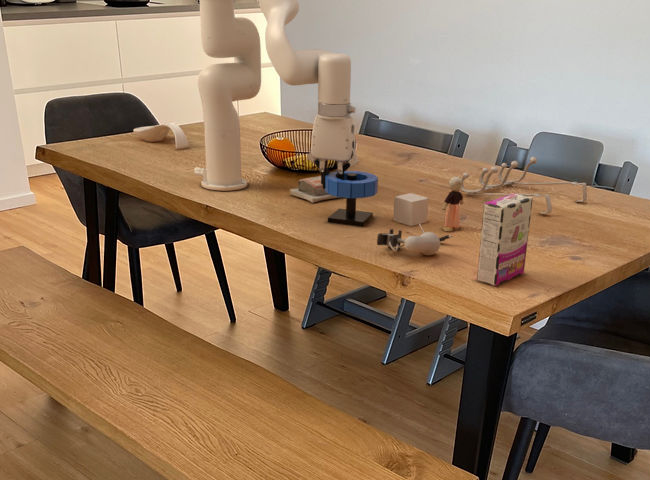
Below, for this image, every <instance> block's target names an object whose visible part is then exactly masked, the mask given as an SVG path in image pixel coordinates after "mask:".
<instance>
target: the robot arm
mask: <svg viewBox="0 0 650 480" xmlns="http://www.w3.org/2000/svg"><path fill="white" fill-rule="evenodd" d="M255 1H256V3H257V5H258V6H259V8H260V10H261V12H262V14H263V17H264V18H265V21H266V28H265V31H264V32H265V33H264V38H265V39H264V41H265V42H264V43H265V49H266V54H267V56H268V59H269V60H270V62H271V64H272V66H273V69H274V70H275V72H276V73H277V75H278V76H279V78H280V79H281V80H282V82H284V83H285V84H287V85H289V86H304V85H315V84H317V114H316V115H315V116H314V119H313V126H312V134H311V145H310V146H311V147H310V149H309V152H308V154H307V157H306V159H307V160H308V161H310V162H311V163H313V164H314V165H315V166H316V167H317V168H318V171H319V172H320V176H321V184H323V189H325V176H326V175H327V174H329V173H331V172H330V169H329V167H328V166H329V161H335V162H336V161H337V171H336V172H337V174H336V177H337V178H338V179H341V180H344V172H345V171H348V169H350V168H352V167H353V166H356V165H358V164H359V163H360V161H359V158H358V156H357V151H356V149H357V144H356V142H357V141H356V129H355V120H354V116H351V114H356V111H357V110H356V109H357V108H356V106H353V105H352V103H351V80H352V77H351V76H352V60H351V58H350V56H349V55H348V54H345V53H339V52H330V51H328V50H325V49H320V48H315V49H313V48H312V49H298V50H297V49H296V50H295V49H294V47H293V46H292V44H291V43H290V40H289V38H288V36H287V33H286V28H285V27H286V26H287V25H288V24H289V23H290V22H292V21H293V20H294V19H295V18H296V17H297V15H298V13H299V11H300V2H299V1H298V0H255ZM199 18H200V36H201V37H200V38H201V45H202V49H203V52H204V53H205V54H206V55H207V56H208V57H210V58H213V59H228V58H229V59H230V58H233V62H222V63H213V64H209V65H207V66H205V67H203V68H202V69H201V71H199V74H198V77H197V87H198V91H199V92H198V93H199V96H200V100H201V107H202V114H203V116H202V117H203V130H204V151H205V152H204V153H205V168H203V167H199V166H195V167H194V169H193V173H194V176H195V177H196V176H197V177H202V180H201V182H200V185H201V187H203V188H204V189H207V190H210V191H211V190H212V191H219V192H221V191H222V192H223V191H224V192H226V191H227V192H228V191H229V192H230V191H237V190H242V189H245V188H247V187H248V180H247V179H245V178H243V177H242V148H241V147H242V146H241V145H242V144H241V121H240V117H239V116H240V115H239V113H238V111H237V109H236V107H235V106H234V103H233V102H238V101H245V100H252V99H253V98H255V97H257V95H258V94H259V92H260V90H261V87H262V53H261V52H262V51H261V50H262V49H261V37H260V32H259V30H258V28H257V26H256V24H255V23H254V22H253V21H252V20H251V19H250V18H247V17H241V16H240V17H235V3H234V0H199Z"/></svg>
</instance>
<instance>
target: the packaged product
mask: <svg viewBox="0 0 650 480" xmlns="http://www.w3.org/2000/svg"><path fill="white" fill-rule="evenodd" d="M297 184H298V186H297V187H295V188H290V189H289V193H290V196H294V197H297V198H300V199H303V200H307V201H308V202H311V203H317V202H322V201H326V200H332V199H338V198H341V197H336V196H333V195H330V194H328V193H327V192H326V191H325V189H323V184H321V175H318V176H317V175H316V176H312V177H306V178H305V177H304V178H301V179H299V180H298V182H297Z"/></svg>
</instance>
